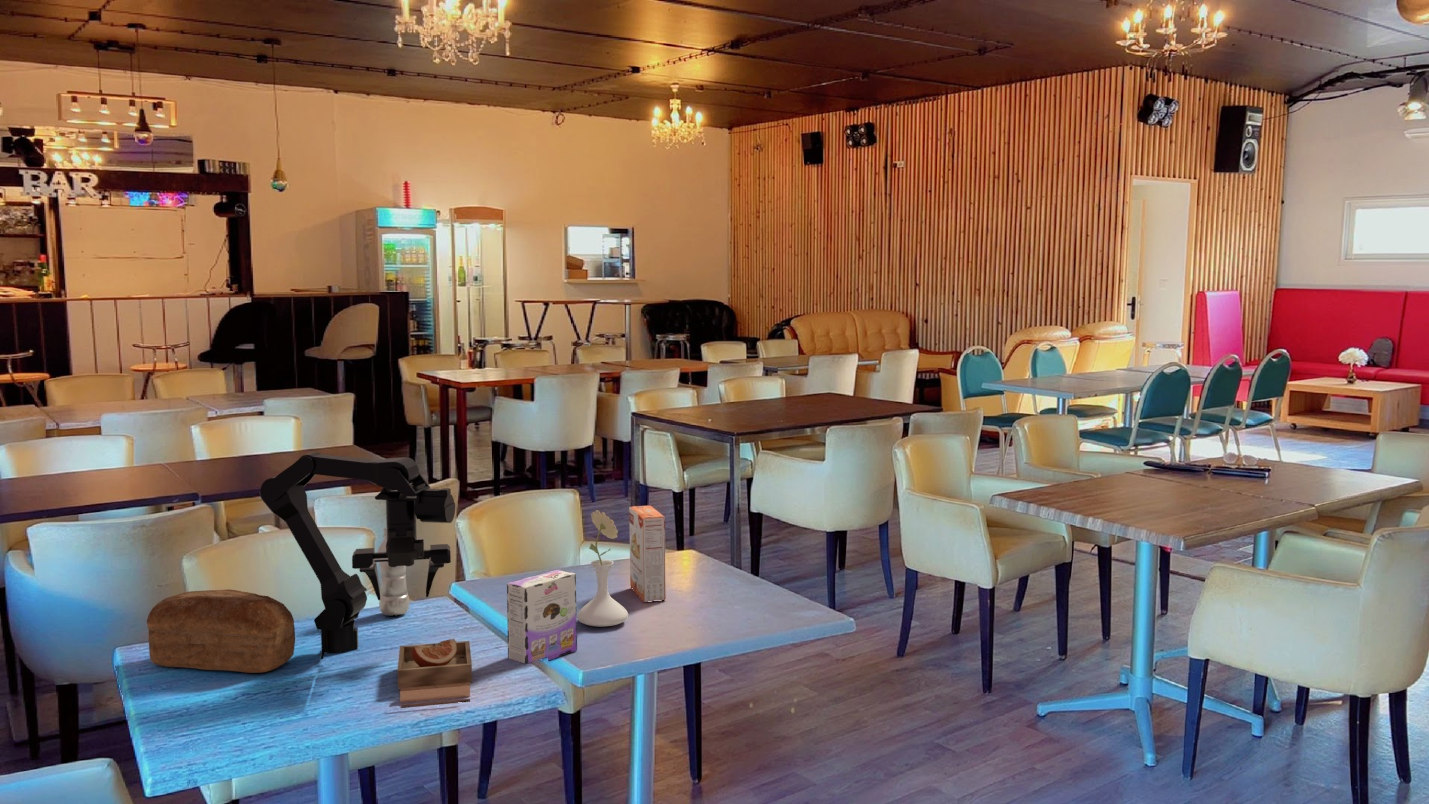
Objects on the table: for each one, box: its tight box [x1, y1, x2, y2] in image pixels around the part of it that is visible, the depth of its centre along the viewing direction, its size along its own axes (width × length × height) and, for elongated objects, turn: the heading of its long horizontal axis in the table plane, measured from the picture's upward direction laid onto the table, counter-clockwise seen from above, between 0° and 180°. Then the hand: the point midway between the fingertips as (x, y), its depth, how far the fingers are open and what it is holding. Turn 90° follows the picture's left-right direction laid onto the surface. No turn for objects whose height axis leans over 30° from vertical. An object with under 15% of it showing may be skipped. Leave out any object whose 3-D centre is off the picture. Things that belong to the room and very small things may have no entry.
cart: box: [397, 640, 473, 690], centre depth 199 cm, size 13×14×4 cm
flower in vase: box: [576, 509, 629, 628], centre depth 236 cm, size 13×11×25 cm
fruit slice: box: [412, 638, 457, 667], centre depth 198 cm, size 8×7×5 cm
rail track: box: [399, 682, 471, 709], centre depth 202 cm, size 12×28×3 cm, turn 15°
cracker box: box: [628, 505, 667, 603], centre depth 258 cm, size 14×6×21 cm, turn 17°
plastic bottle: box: [377, 527, 410, 617], centre depth 241 cm, size 6×7×20 cm
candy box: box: [506, 569, 578, 665], centre depth 213 cm, size 14×6×16 cm, turn 141°
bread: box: [146, 589, 296, 674], centre depth 209 cm, size 12×28×14 cm, turn 80°
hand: (403, 598), depth 213 cm, fingers open, 9 cm apart
